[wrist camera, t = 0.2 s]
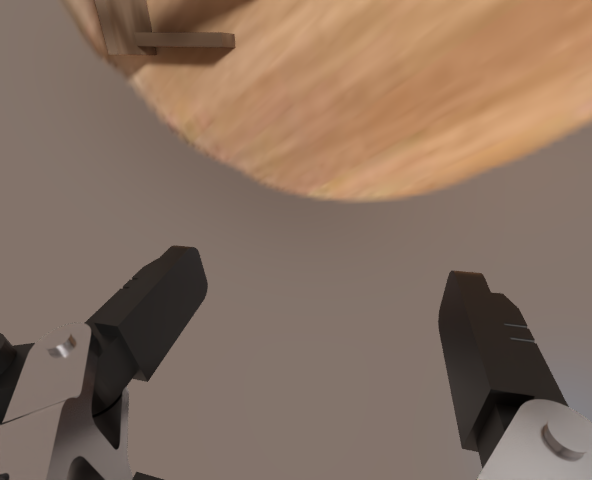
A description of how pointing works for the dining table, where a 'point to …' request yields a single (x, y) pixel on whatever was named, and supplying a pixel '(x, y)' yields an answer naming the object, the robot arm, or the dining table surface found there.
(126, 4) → the walnut bay
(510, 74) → the dining table surface
